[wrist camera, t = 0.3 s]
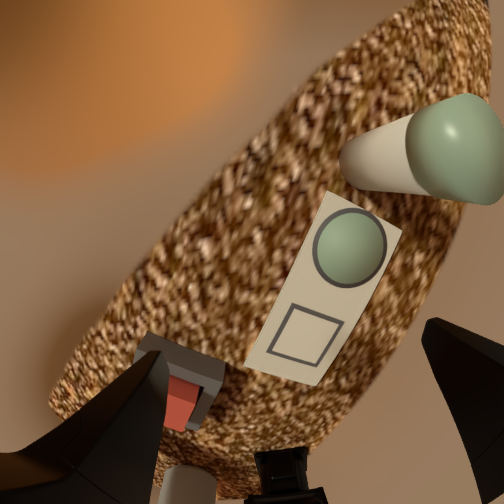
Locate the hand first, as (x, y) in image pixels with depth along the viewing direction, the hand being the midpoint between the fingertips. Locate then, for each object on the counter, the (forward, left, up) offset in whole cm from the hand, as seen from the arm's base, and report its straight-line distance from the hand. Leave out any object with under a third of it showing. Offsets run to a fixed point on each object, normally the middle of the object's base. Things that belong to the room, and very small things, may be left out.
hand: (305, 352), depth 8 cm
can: (-31, +14, -14) cm, 37 cm away
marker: (+6, -8, -14) cm, 17 cm away
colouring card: (-5, -4, -14) cm, 15 cm away
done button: (-11, +10, -12) cm, 19 cm away
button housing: (-11, +10, -14) cm, 20 cm away
